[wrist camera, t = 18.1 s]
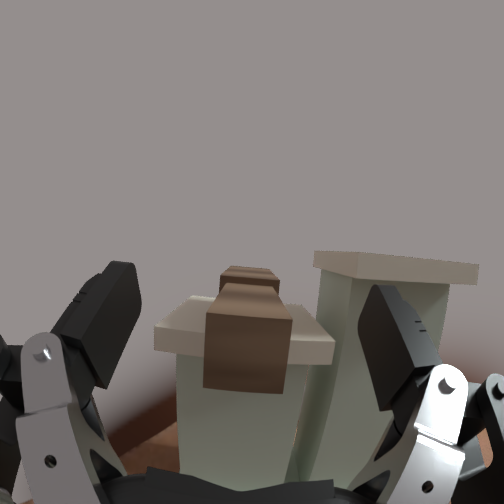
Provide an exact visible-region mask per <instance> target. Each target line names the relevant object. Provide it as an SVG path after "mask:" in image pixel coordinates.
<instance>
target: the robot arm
mask: <svg viewBox="0 0 504 504" xmlns="http://www.w3.org/2000/svg"><path fill="white" fill-rule="evenodd" d="M141 305H142V302H141V295H140V290H139V284H138V279H137V273H136V268H135V265H134V264H133V263H129V262H120V261H111V262H110V263H109V265H108V266H107V267H106V268H105V270H104V271H103V272H102V274H99V273H98V274H97V275H95V276H94V277H92V278H91V279H89V280H88V281H87V282H86V283H85V284H84V285H83V287H82V288H81V290H80V291H79V294H78V293H77V295H76V296H75V298H74V299H73V302H71V303H70V304H69V306H68V307H67V309H66V310H65V311H64V313H63V314H62V316H61V317H60V319H59V320H58V321H57V323H56V324H55V326H54V327H53V329H52V330H51V332H50V333H47V332H44V333H39V334H36V335H34V336H32V337H31V338H30V339H28V340H27V341H26V343H25V344H24V346H23V345H21V346H20V345H7V344H6V343H5V341H4V340H3V338H2V336H1V335H0V393H1V395H2V396H3V397H2V399H1V401H0V504H16V503H15V502H13V500H12V498H11V496H12V492H13V487H14V483H15V479H16V475H17V472H18V468H19V464H20V461H21V458H22V462H23V466H24V470H25V474H26V478H27V482H28V485H29V488H30V492H31V495H32V498H33V501H34V504H449V502H450V499H451V504H504V377H503V376H502V375H500V374H491V375H490V376H489V377H488V378H487V379H486V380H485V381H484V382H483V383H482V384H477V383H471V382H466V379H465V378H464V376H463V375H462V373H461V372H460V371H459V370H457V369H456V368H454V367H452V366H450V365H444V364H443V362H442V360H441V358H440V356H439V354H438V352H437V350H436V348H435V346H434V344H433V342H432V340H431V338H430V336H429V334H428V332H426V328H425V326H424V324H423V323H421V322H422V320H421V319H420V317H419V315H418V313H417V311H416V310H415V309H414V308H413V307H412V306H411V305H410V304H409V303H408V302H407V301H406V300H403V298H402V297H401V295H400V293H399V291H398V290H397V288H396V287H395V286H394V285H379V284H374V285H373V286H372V287H371V289H370V291H369V294H368V297H367V299H366V302H365V304H364V307H363V309H362V312H361V314H360V317H359V320H358V327H357V330H358V336H359V339H360V342H361V346H362V349H363V352H364V356H365V359H366V363H367V366H368V370H369V373H370V377H371V380H372V384H373V388H374V392H375V395H376V399H377V403H378V407H379V411H380V412H382V411H389V410H392V411H393V415H394V416H393V417H392V418H391V419H390V421H389V423H388V425H387V427H386V429H385V431H384V433H383V435H382V437H381V439H380V441H379V443H378V444H377V446H376V448H375V450H374V452H373V454H372V455H371V457H370V459H369V461H368V462H367V464H366V465H365V467H364V468H363V469H362V470H361V471H360V472H359V473H358V474H357V475H356V477H355V478H354V479H353V480H352V482H351V483H350V484H349V486H348V487H347V489H343V488H339V487H334V481H333V479H329V480H318V481H303V482H287V483H283V484H279V485H275V486H270V487H265V488H260V489H254V490H249V491H236V490H232V489H229V488H226V487H223V486H220V485H217V484H214V483H211V482H208V481H205V480H203V479H200V478H197V477H195V476H192V475H186V474H180V473H175V472H170V471H165V470H161V469H156V468H152V467H147V472H146V474H132V475H127V472H126V470H125V468H124V466H123V465H122V463H121V461H120V459H119V458H118V456H117V455H116V453H115V452H114V450H113V448H112V447H111V445H110V442H109V440H108V438H107V435H106V432H105V430H104V427H103V424H102V422H101V419H100V416H99V413H98V410H97V407H96V404H95V401H94V398H93V396H92V391H93V389H94V386H97V387H100V388H103V389H107V388H108V385H109V383H110V380H111V378H112V375H113V373H114V371H115V368H116V366H117V364H118V361H119V359H120V357H121V355H122V352H123V350H124V348H125V346H126V343H127V341H128V339H129V337H130V335H131V332H132V330H133V328H134V326H135V324H136V322H137V319H138V318H139V315H140V312H141ZM485 428H486V430H487V433H488V437H489V440H490V444H491V447H492V451H493V460H492V463H491V464H490V466H489V467H488V468H486V467H485V465H484V461H483V457H482V453H481V449H480V445H479V441H478V438H477V434H479V433H480V432H481V431H482V430H484V429H485Z"/></svg>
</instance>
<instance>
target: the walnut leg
mask: <svg viewBox="0 0 504 504" xmlns="http://www.w3.org/2000/svg"><path fill="white" fill-rule="evenodd" d="M279 284H280V280H279V279H278V278H277V277H276V276H275V275H274V274H273V273H272V272H271V271H270V270H269V269H262V268H250V267H238V266H230V267H229V268H228V269H227V270H226V271H225V272H224V273H222V274H221V276H220V287H219V294H218V296H217V297H216V299H215V300H214V302H213V303H212V305H211V306H210V307H209V309H208V310H207V312H206V323H205V342H204V366H203V388H208V389H216V390H226V391H236V392H249V393H266V394H283V390H284V383H285V376H286V369H287V362H288V354H289V347H290V339H291V331H292V323H293V319H292V317H291V316H290V314H289V312H288V311H287V309H286V308H285V306H284V304H283V303H282V301H281V300H280V298H279V296H278V293H279Z"/></svg>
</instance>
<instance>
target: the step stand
mask: <svg viewBox="0 0 504 504" xmlns="http://www.w3.org/2000/svg"><path fill="white" fill-rule="evenodd" d="M313 267H316V268H320V269H322V270H321V279H320V288H319V298H318V306H317V315H316V320H315V319H314V318H313V317H312V316H311V314H310V313H309V312H308V311H307V310H306V309H305V308H304V307H303V306H302V305H296V304H284V306H285V308H286V309H287V311H288V312H289V314H290V316H291V317H292V319H293V323H292V331H291V339H290V347H289V354H288V362H287V369H286V376H285V383H284V390H283V394H266V393H249V392H236V391H226V390H216V389H208V388H203V366H204V342H205V323H206V312H207V310H208V309H209V307H210V306H211V305H212V303H213V302H214V300H215V299H216V298H211V297H201V296H191V297H190V298H188V299H187V300H186V301H185V302H184V303H182V304H181V305H180V306H179V307H177V308H176V309H175V310H173V311H172V312H171V313H170V314H169V315H167V316H166V317H165V318H164V319H162V320H161V321H160V322H159V323H157V324H156V325H155V326H154V350H157V351H164V352H170V353H176V354H177V357H176V378H177V379H176V380H177V381H176V385H177V386H176V388H177V425H178V445H179V460H180V471H179V473H180V474H186V475H192V476H195V477H197V478H200V479H203V480H205V481H208V482H211V483H214V484H217V485H220V486H223V487H226V488H229V489H232V490H236V491H249V490H254V489H260V488H265V487H270V486H275V485H279V484H283V483H287V482H303V481H318V480H329V479H333V481H334V487H339V488H343V489H347V487H348V486H349V484H350V483H351V482H352V480H353V479H354V478H355V477H356V475H357V474H358V473H359V472H360V471H361V470H362V469H363V468H364V467H365V465H366V464H367V462H368V461H369V459H370V457H371V455H372V454H373V452H374V450H375V448H376V446H377V444H378V443H379V441H380V439H381V437H382V435H383V433H384V431H385V429H386V427H387V425H388V423H389V421H390V419H391V418H392V417H393V416H394V415H393V411H392V410H389V411H382V412H380V411H379V407H378V403H377V399H376V395H375V392H374V388H373V384H372V380H371V377H370V373H369V370H368V366H367V363H366V359H365V356H364V352H363V349H362V346H361V342H360V339H359V336H358V330H357V327H358V320H359V317H360V314H361V312H362V309H363V307H364V304H365V302H366V299H367V297H368V294H369V291H370V289H371V287H372V286H373V285H374V284H379V285H394V286H395V287H396V288H397V290H398V291H399V293H400V295H401V297H402V298H403V300H406V301H407V302H408V303H409V304H410V305H411V306H412V307H413V308H414V309H415V310H416V311H417V313H418V315H419V317H420V319H421V320H422V322H421V323H423V324H424V326H425V328H426V332H428V334H429V336H430V338H431V340H432V342H433V344H434V346H435V348H436V350H437V352H438V349H439V344H440V340H441V335H442V330H443V325H444V320H445V314H446V308H447V302H448V295H449V287H450V284H467V285H477V279H478V270H479V264H470V263H461V262H451V261H442V260H433V259H423V258H413V257H404V256H394V255H384V254H373V253H363V252H339V251H337V252H336V251H315V252H314V263H313ZM308 365H309V369H308ZM307 370H308V375H307ZM306 376H307V382H306V386H305V381H306ZM304 387H305V392H304ZM303 393H304V397H303ZM302 398H303V403H302ZM301 404H302V408H301ZM300 409H301V413H300ZM299 414H300V418H299ZM298 419H299V423H298ZM297 424H298V427H297ZM296 429H297V432H296ZM295 433H296V437H295ZM294 438H295V441H294ZM293 442H294V446H293Z"/></svg>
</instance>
